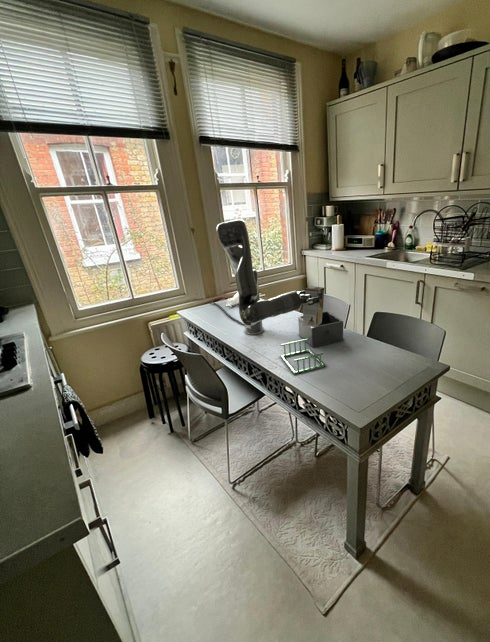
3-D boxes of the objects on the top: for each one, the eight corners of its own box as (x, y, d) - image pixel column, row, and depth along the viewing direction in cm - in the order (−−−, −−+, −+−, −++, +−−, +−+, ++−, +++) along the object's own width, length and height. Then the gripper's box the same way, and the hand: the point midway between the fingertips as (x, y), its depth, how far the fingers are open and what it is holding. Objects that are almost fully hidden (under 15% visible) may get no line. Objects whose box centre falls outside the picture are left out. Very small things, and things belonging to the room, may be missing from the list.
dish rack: (280, 357, 142) (279, 344, 139) (309, 350, 146) (308, 338, 144) (294, 374, 128) (293, 360, 125) (325, 366, 132) (325, 353, 130)
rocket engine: (222, 294, 205) (245, 282, 213) (220, 301, 215) (242, 290, 223) (232, 308, 204) (254, 296, 212) (229, 315, 214) (251, 303, 222)
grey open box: (299, 334, 163) (298, 316, 159) (327, 328, 169) (327, 311, 165) (312, 347, 149) (311, 327, 145) (343, 340, 155) (343, 321, 151)
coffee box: (308, 321, 144) (311, 285, 140) (322, 323, 142) (325, 287, 138) (301, 325, 136) (304, 288, 131) (316, 327, 134) (319, 289, 129)
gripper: (299, 297, 118) (327, 287, 128) (274, 290, 127) (302, 282, 138) (299, 315, 121) (327, 305, 131) (275, 308, 130) (303, 298, 141)
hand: (314, 293), depth 134 cm, fingers closed on coffee box, 8 cm apart
